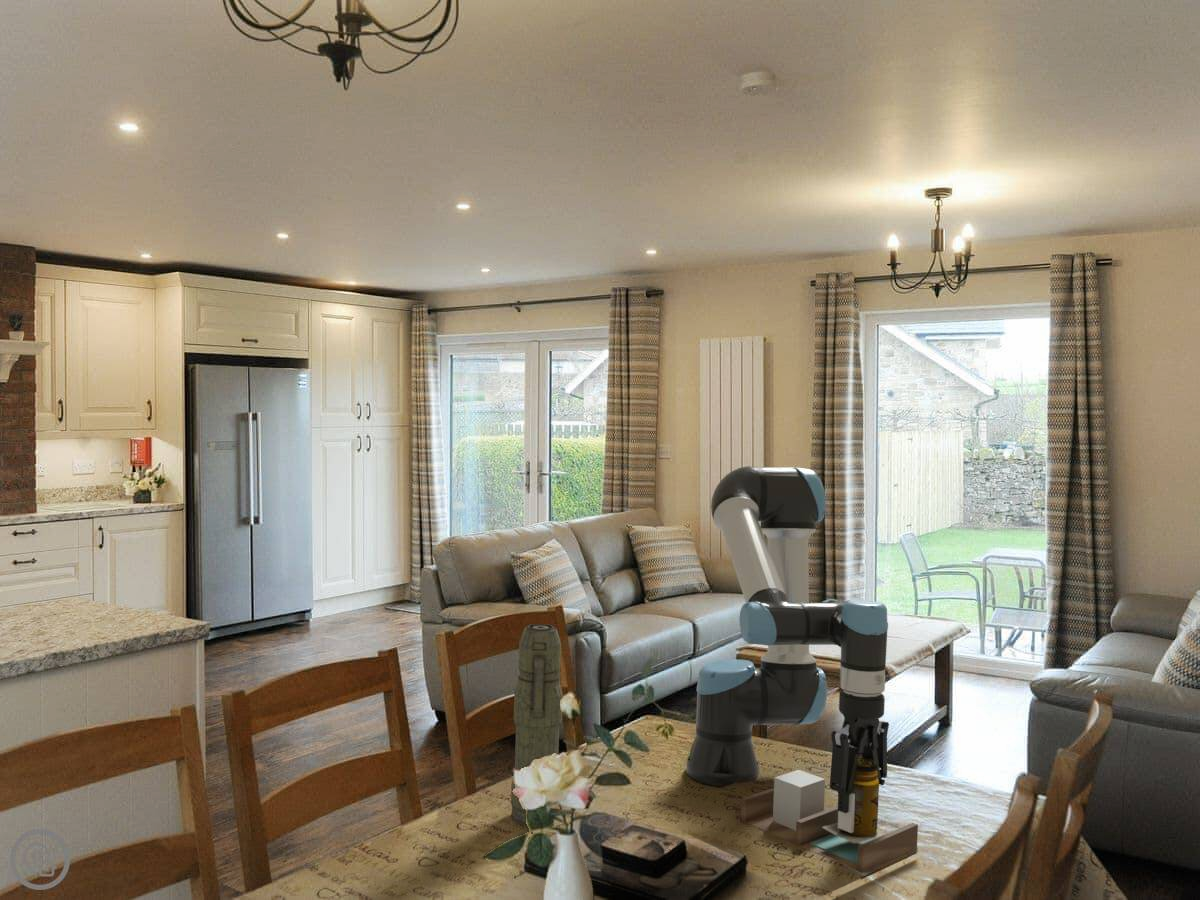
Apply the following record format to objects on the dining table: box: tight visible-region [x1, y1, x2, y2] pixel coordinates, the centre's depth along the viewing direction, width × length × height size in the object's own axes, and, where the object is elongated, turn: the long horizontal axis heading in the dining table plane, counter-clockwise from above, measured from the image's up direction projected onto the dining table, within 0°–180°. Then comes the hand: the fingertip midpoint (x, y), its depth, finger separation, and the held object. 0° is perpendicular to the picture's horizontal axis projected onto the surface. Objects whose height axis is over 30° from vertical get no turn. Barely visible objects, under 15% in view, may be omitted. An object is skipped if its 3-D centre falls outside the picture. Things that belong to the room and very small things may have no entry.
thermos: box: [510, 623, 564, 827], centre depth 177 cm, size 9×12×35 cm
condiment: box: [822, 756, 888, 843], centre depth 166 cm, size 7×8×12 cm
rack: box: [740, 787, 919, 880], centre depth 171 cm, size 26×16×5 cm, turn 40°
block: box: [773, 769, 826, 831], centre depth 176 cm, size 6×7×8 cm
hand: (857, 824), depth 166 cm, fingers closed on condiment, 6 cm apart
